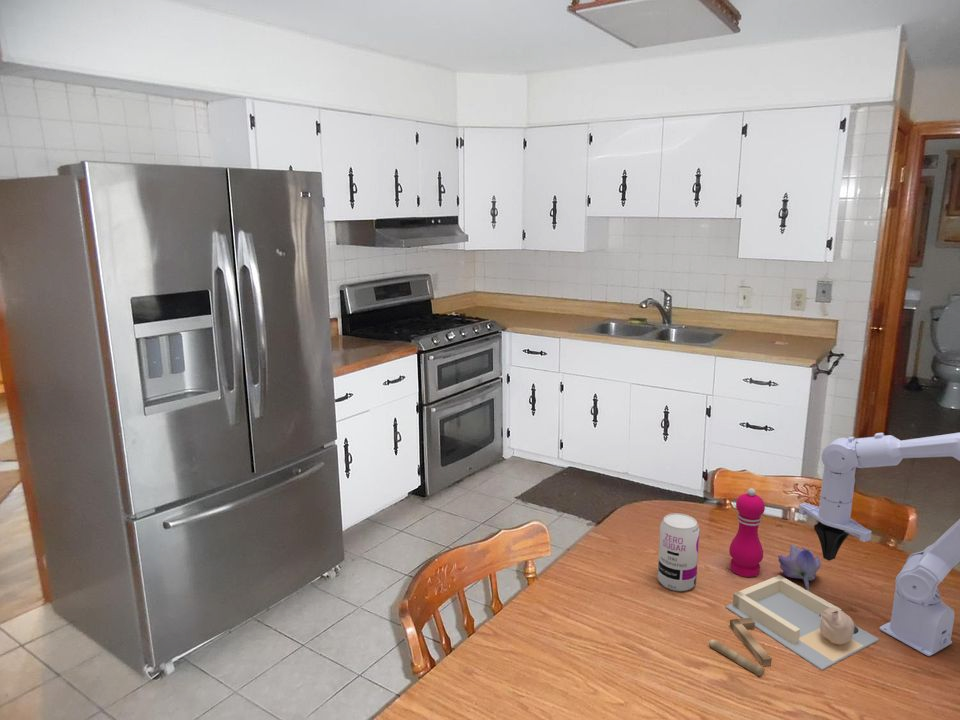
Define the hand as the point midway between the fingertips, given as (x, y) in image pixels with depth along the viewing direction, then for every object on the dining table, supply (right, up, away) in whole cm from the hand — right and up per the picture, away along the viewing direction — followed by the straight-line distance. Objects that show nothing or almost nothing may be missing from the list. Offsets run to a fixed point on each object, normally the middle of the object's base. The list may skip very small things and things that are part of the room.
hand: (829, 558), depth 139 cm
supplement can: (-28, -9, +11) cm, 32 cm away
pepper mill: (-11, -7, +15) cm, 20 cm away
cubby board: (-8, -12, -4) cm, 15 cm away
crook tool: (-19, -14, -10) cm, 25 cm away
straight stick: (-25, -15, -14) cm, 32 cm away
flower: (-1, -9, +10) cm, 13 cm away
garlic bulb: (-4, -13, -10) cm, 17 cm away
